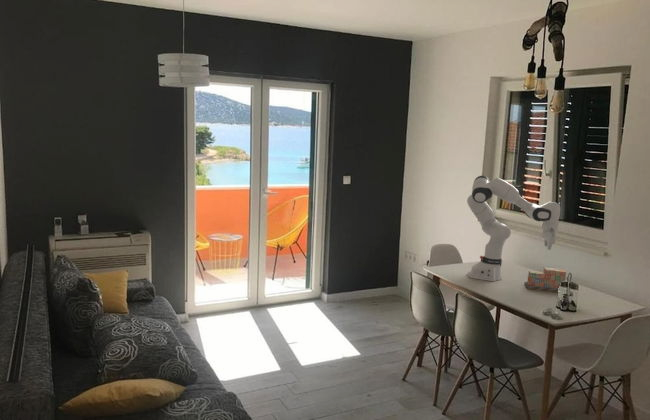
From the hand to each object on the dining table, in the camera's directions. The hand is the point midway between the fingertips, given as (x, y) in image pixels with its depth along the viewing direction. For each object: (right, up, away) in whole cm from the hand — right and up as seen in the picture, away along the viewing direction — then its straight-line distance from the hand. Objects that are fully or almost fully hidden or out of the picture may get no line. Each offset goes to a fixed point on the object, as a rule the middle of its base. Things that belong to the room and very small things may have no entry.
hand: (547, 247), depth 352 cm
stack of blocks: (-2, -26, 0) cm, 26 cm away
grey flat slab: (-1, -27, 0) cm, 26 cm away
